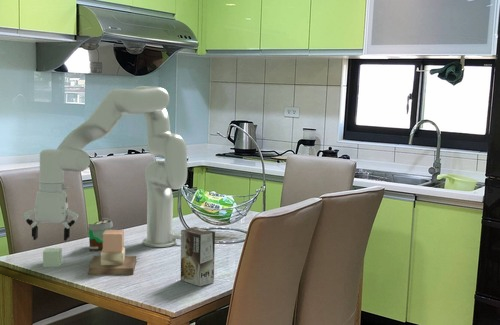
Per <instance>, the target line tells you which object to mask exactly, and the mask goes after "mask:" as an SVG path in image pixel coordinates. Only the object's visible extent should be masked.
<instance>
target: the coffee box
mask: <svg viewBox="0 0 500 325" xmlns="http://www.w3.org/2000/svg"><path fill="white" fill-rule="evenodd" d="M180 234H181V239H180V281H182V282H186V283H189V284H191V285H194V286H197V287H203V286H206V285H210V284H213V283H214V282H215V251H216V250H215V248H216V247H215V246H216V241H215V240H216V231H214V230H210V229H205V228H201V227H197V226H193V227H189V228H186V229H181V230H180Z"/></svg>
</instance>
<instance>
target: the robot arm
mask: <svg viewBox="0 0 500 325" xmlns="http://www.w3.org/2000/svg"><path fill="white" fill-rule="evenodd" d="M169 104H170V94H169V93H168V91H167V90H166V89H165V88H164V87H160V86H149V85H148V86H147V85H139V86H136V87H134V88H132V89H130V88H129V89H127V88H126V89H125V88H115V89H112V90H110V91H109V92H108V93H107V94H106V96H104V98H103V100H102V101H101V102H100V103H99V105H98V106H97V107H96V109H95V110H94V111H93V112H92V114H91V115H89V118H87V120H85V121H84V122H83V123H81V124H80V125H78V126H77V127H75V129H73V130H71V132H70V133H68V134H67V136H66V137H64V139H63V140H62V141H61V143H59V145H58V146H57V148H56V149H53V148H52V149H48V148H47V149H43V150H41V151H40V153H39V178H38V179H39V181H38V182H39V186H38V188H39V190H38V191H37V192H36V197H35V201H34V202H35V203H34V208H32V209H30V210H28V211H26V212H24V213H23V215H22V216H23V218H24V220H25V222H26V223H27V224H28V225H29V226H30V228H31V238H33V239H32V240H33V241H36V240H37V239H38V238H39V232H38V230H39V227H38V224H39V223H45V224H46V223H50V224H51V223H52V224H62V225H63V226H64V229H63V241H65V242H66V241H67V240H68V239H69V238H70V235H71V233H70V232H71V231H70V230H71V229H70V228H71V227H72V226H73V225H74V224H75V223H76V221H77V220H78V218H79V214H78V213H76V212H75V211H73V210H71V209H69V202H68V195H67V191H65V190H66V189H67V190H69V184H66V183H65V172H72V173H81V172H84V171H85V170H87V169H88V168H89V166H90V164H91V157H90V156H89V154H88V153H87V152H86V151H84V150H83V149H84V148H85V147H87V146H88V145H90V144H91V143H93V142H95V141H97V140H98V141H99V140H100V139H102V138H105V137H107V136H108V135H110V134H111V132H112V131H113V130H114V128H115V127H116V125H117V124H118V123H119V122H120V120H121V119H122V118H123V116H124V115H141V114H143V116H144V118H145V122H146V136H147V139H146V140H147V149H148V150H147V151H148V153H149V154H150V156H153V157H156V158H160V159H164V160H154V161H153V160H152V161H151V162H150V163H149V164H147V166H146V168H145V171H144V172H145V173H144V177H145V183H146V189H147V190H146V191H147V192H146V193H147V199H146V200H147V204H146V206H147V208H146V210H147V212H146V219H147V220H146V237H145V238H144V239H142V244H143V245H144V246H147V247H151V248H167V247H172V246H174V245H176V244H177V240H181V233H175V232H174V230H173V221H174V220H173V218H174V216H173V213H174V211H173V210H174V196H173V190H179V189H182V188H183V187H184V185H185V184H186V182H187V180H188V151H187V144H186V141H185V140H184V138H183V137H182V136H181V135H180V134H177V133H172V132H171V123H170V122H171V121H170V115H169V113H168V110H167V107H168V106H169ZM31 215H33V218H34V221H33V219H31V217H30V216H31ZM69 216H70V217H71V218H72V219H71V220H70V221H69V220H68V218H69Z"/></svg>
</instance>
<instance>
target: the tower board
mask: <svg viewBox="0 0 500 325" xmlns="http://www.w3.org/2000/svg"><path fill="white" fill-rule="evenodd" d="M136 265H137V255H125V260H124V263H123V265H101V255H94V256H93V257H92V259H91V262H90V263H89V265H88V267H87V275H88V276H89V275H134V272H135V267H136Z"/></svg>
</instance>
